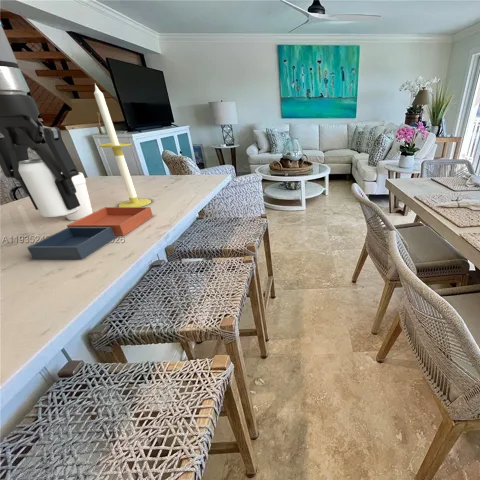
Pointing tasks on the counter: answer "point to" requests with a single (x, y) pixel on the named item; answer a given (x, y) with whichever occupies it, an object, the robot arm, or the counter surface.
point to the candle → (118, 154)
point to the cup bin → (115, 219)
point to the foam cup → (81, 198)
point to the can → (43, 188)
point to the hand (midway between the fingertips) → (58, 207)
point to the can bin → (72, 243)
